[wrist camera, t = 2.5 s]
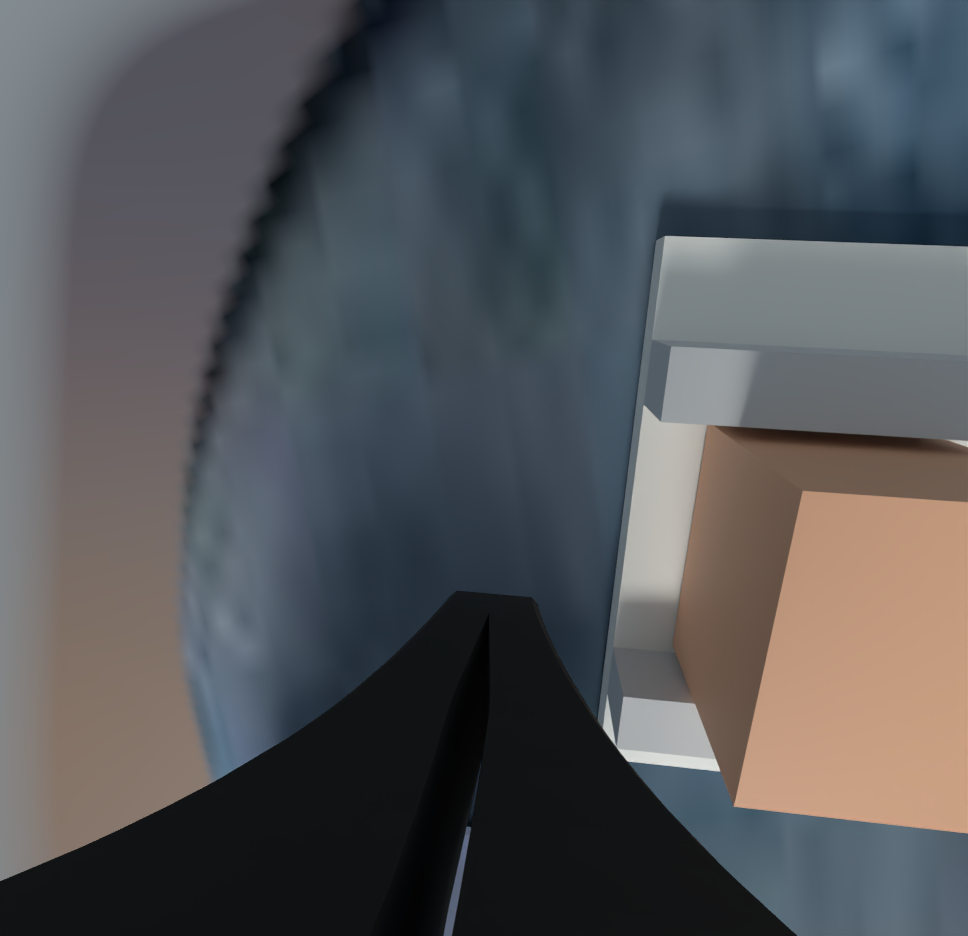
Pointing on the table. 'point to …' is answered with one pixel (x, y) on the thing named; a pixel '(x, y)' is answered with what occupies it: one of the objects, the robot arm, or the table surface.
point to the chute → (761, 417)
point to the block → (832, 623)
